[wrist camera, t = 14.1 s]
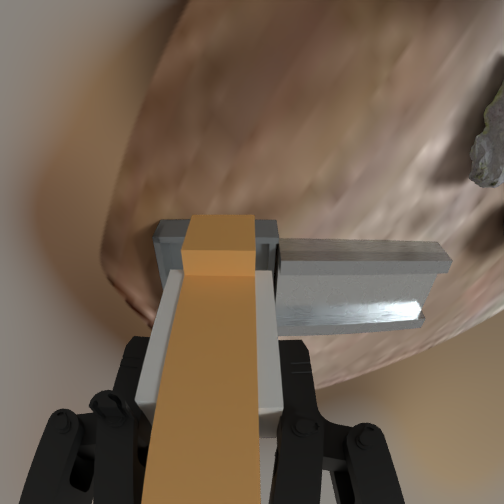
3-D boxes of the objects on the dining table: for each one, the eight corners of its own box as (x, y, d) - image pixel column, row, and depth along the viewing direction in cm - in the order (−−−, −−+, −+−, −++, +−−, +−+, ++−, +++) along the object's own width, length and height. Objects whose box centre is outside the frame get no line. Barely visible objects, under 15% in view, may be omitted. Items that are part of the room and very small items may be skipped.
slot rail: (278, 238, 29) (281, 260, 26) (437, 242, 29) (452, 260, 27) (272, 312, 35) (274, 336, 32) (411, 307, 35) (420, 327, 32)
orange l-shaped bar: (192, 214, 15) (120, 519, 4) (254, 214, 15) (264, 535, 4) (201, 299, 18) (174, 532, 7) (252, 300, 18) (256, 537, 7)
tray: (160, 219, 28) (152, 236, 25) (276, 220, 28) (279, 237, 26) (179, 322, 36) (175, 341, 33) (268, 324, 36) (269, 343, 34)
